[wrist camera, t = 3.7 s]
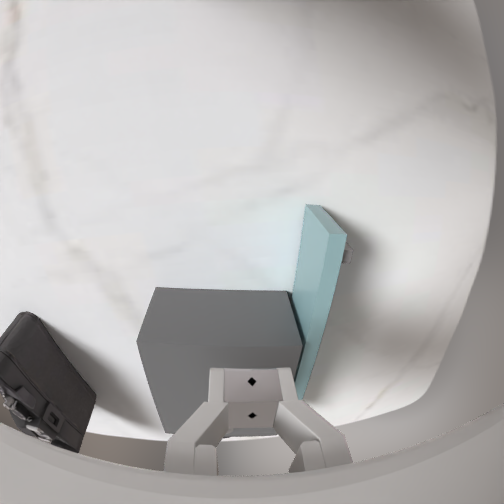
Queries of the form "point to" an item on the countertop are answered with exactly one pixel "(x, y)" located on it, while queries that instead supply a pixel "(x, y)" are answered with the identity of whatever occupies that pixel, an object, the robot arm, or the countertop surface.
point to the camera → (43, 385)
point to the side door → (316, 284)
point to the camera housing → (212, 345)
